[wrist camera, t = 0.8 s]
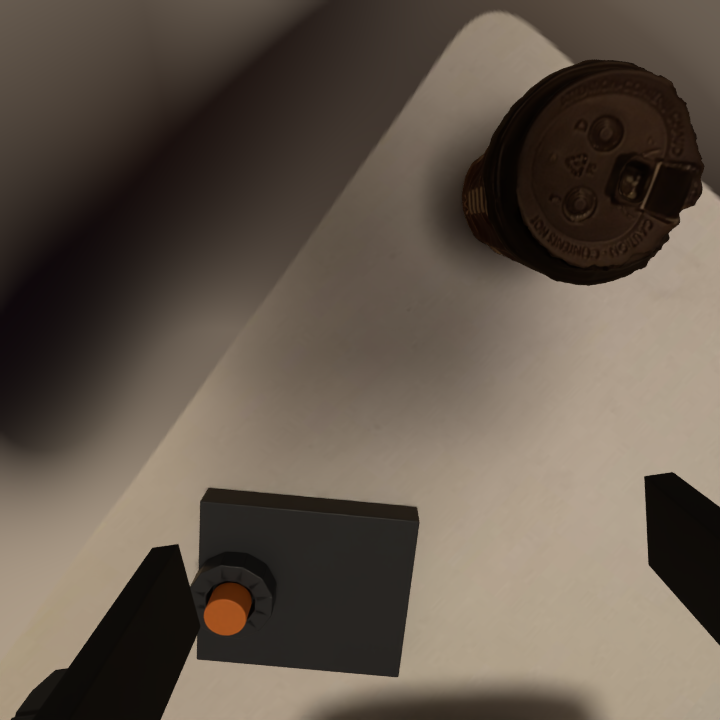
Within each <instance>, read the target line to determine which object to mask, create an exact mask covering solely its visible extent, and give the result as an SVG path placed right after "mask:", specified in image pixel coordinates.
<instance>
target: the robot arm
mask: <svg viewBox="0 0 720 720" xmlns="http://www.w3.org/2000/svg"><path fill="white" fill-rule="evenodd" d="M644 479H645V499H646V520H647V541H648V562H649V566H650V567H651V568H652V569H653V570H654V571H655V573H656V574H657V575H658V576H659V577H660V578H661V579H662V580H663V582H664V583H665V584H666V585H667V586H668V587H669V588H670V590H671V591H672V592H673V593H674V594H675V595H676V596H677V597H678V599H679V600H680V601H681V602H682V603H683V604H684V605H685V607H686V608H687V609H688V610H689V611H690V612H691V613H692V614H693V616H694V617H695V618H696V619H697V620H698V621H699V622H700V624H701V625H702V626H703V627H704V628H705V629H706V630H707V631H708V633H709V634H710V635H711V636H712V637H713V638H714V639H715V641H716V642H717V643H718V644H719V645H720V507H719V506H718V505H716V504H715V503H714V502H712V501H711V500H710V499H708V498H707V497H705V496H704V495H703V494H701V493H700V492H699V491H697V490H696V489H695V488H693V487H692V486H691V485H689V484H688V483H687V482H685V481H684V480H683V479H681V478H680V477H679V476H677V475H676V474H675V473H673V472H671V473H664V474H657V475H650V476H644ZM200 627H201V626H200V622H199V619H198V615H197V611H196V607H195V604H194V600H193V596H192V593H191V589H190V585H189V582H188V578H187V574H186V571H185V567H184V563H183V560H182V556H181V552H180V549H179V545H178V544H176V545H169V546H162V547H155V548H152V549H151V551H150V552H149V553H148V555H147V556H146V558H145V559H144V561H143V562H142V563H141V565H140V566H139V568H138V569H137V571H136V572H135V573H134V575H133V576H132V578H131V579H130V581H129V582H128V583H127V585H126V586H125V588H124V589H123V591H122V592H121V593H120V595H119V596H118V598H117V599H116V601H115V602H114V603H113V605H112V606H111V608H110V609H109V611H108V612H107V613H106V615H105V616H104V618H103V619H102V621H101V622H100V623H99V625H98V626H97V628H96V629H95V631H94V632H93V633H92V635H91V636H90V638H89V639H88V641H87V642H86V643H85V645H84V646H83V648H82V649H81V651H80V652H79V653H78V655H77V656H76V658H75V659H74V661H73V662H72V663H71V665H70V666H69V668H67V669H60V670H55V671H54V672H53V673H52V674H50V675H49V676H48V677H47V678H46V679H45V680H44V681H43V682H41V683H40V684H39V685H38V686H37V687H36V688H35V689H34V690H32V692H31V693H30V694H29V696H28V697H27V698H26V700H25V701H24V702H23V704H22V705H21V707H20V708H19V709H18V711H17V712H16V716H15V717H14V718H12V719H11V720H161V718H162V715H163V713H164V711H165V708H166V706H167V704H168V701H169V699H170V697H171V694H172V692H173V690H174V687H175V685H176V683H177V680H178V678H179V676H180V673H181V671H182V669H183V666H184V664H185V662H186V659H187V657H188V655H189V652H190V650H191V648H192V645H193V643H194V641H195V638H196V636H197V634H198V631H199V629H200Z"/></svg>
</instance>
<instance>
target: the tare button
mask: <svg viewBox="0 0 720 720" xmlns="http://www.w3.org/2000/svg"><path fill="white" fill-rule="evenodd" d="M251 604H252V599H251V595H250V593H249V592H248V590H247V589H246V588H245V587H243V586H242V585H240V584H237V583H233V582H228V583H223V584H221V585H219V586H217V587H216V588H215V589H214V591H213V592H212V595H211V597H210V599H209V601H208V604H207V606H206V608H205V611H204V621H205V623H206V625H207V626H208V628H209V629H210V630H212V631H213V632H215V633H217V634H220V635H233V634H236V633H238V632H239V631H240V630H242V628H243V627H244V626H245V624H246V620H247V617H248V614H249V611H250V608H251Z"/></svg>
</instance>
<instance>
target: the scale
mask: <svg viewBox="0 0 720 720" xmlns="http://www.w3.org/2000/svg"><path fill="white" fill-rule="evenodd" d="M418 529H419V516H418V511H417V508H416V507H406V506H395V505H384V504H373V503H363V502H352V501H341V500H330V499H319V498H309V497H298V496H287V495H276V494H266V493H255V492H244V491H233V490H222V489H212V488H209V489H208V490H207V492H206V493H205V495H204V496H203V498H202V500H201V501H200V539H199V571H198V573H197V574H196V576H195V578H194V580H193V582H192V584H191V586H190V589H191V593H192V596H193V600H194V604H195V607H196V611H197V615H198V619H199V622H200V626H201V627H200V629H199V631H198V634H197V659H199V660H210V661H221V662H232V663H244V664H255V665H266V666H277V667H288V668H299V669H311V670H322V671H333V672H344V673H355V674H366V675H377V676H389V677H398V676H399V668H400V661H401V654H402V646H403V639H404V632H405V624H406V617H407V610H408V602H409V595H410V588H411V580H412V573H413V566H414V558H415V551H416V544H417V536H418ZM228 582H233V583H237V584H240V585H242V586H243V587H245V588H246V589H247V590H248V592H249V593H250V595H251V599H252V604H251V608H250V611H249V614H248V617H247V620H246V624H245V626H244V627H243V628H242V630H240V631H239V632H238V633H236V634H233V635H220V634H217V633H215V632H213V631H212V630H210V629H209V628H208V626H207V625H206V623H205V621H204V611H205V608H206V606H207V604H208V601H209V599H210V597H211V595H212V592H213V591H214V589H215V588H216V587H217V586H219V585H221V584H223V583H228Z"/></svg>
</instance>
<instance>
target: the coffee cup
mask: <svg viewBox="0 0 720 720" xmlns="http://www.w3.org/2000/svg"><path fill="white" fill-rule="evenodd" d="M696 139H697V138H696V134H695V132H694V130H693V126H692V125H691V123H690V117H689V112H688V110H687V107H686V102H684V101H683V100H682V98H679V97H678V95H677V92H676V89H675V88H674V86H673V83H672V82H671V81H669V80H668V79H666V78H665V77H663V76H661V75H660V76H657V75H655V74H653V73H652V72H649V71H647V70H645V69H644V68H641V67H638V66H637V65H635V64H633V63H629V62H622V61H614V60H607V61H606V60H586V61H582V62H580V63H578V64H575V65H573V66H570V67H566V68H563V69H561V70H559V71H557V72H554V73H552V74H550V75H548V76H547V77H545V78H544V79H542V80H541V81H540V82H538V83H537V84H536V85H534V86H533V87H532V88H530V89H529V90H528V91H527V92H526V94H525V95H524V96H523V97H522V98H520V99H519V100H518V101H517V102H516V103H515V104H514V105H513V106H512V107H511V108H510V110H509V112H508V113H507V114H506V115H505V117H504V118H503V120H502V121H501V123H500V125H499V126H498V128H497V129H496V131H495V132H494V134H493V136H492V138H491V141H490V145H489V146H488V148H487V149H486V151H485V153H484V154H483V155H482V156H480V157H479V158H478V159H477V160H475V161H474V162H473V163H472V164H471V166H470V168H469V170H468V172H467V174H466V177H465V181H464V185H463V191H462V204H463V211H464V215H465V218H466V221H467V224H468V226H469V228H470V229H471V231H472V233H473V235H474V236H475V237H476V238H477V239H478V240H479V241H481V242H482V243H485V244H487V245H488V246H489V247H490V248H491V249H492V250H493V251H494V252H496V253H498V254H502V255H503V256H506V257H508V258H510V259H511V260H513V261H516V262H518V263H521V264H522V265H525V266H527V267H529V268H531V269H533V270H535V271H537V272H540V273H542V274H544V275H546V276H548V277H549V278H550V279H553V280H555V281H561V282H564V283H571V284H575V285H587V286H590V285H596V284H602V283H607V282H610V281H614V280H617V279H619V278H622V277H626V276H628V275H630V274H632V273H633V272H634V271H636V270H638V269H642V268H645V267H646V266H647V263H648V261H649V260H650V259H651V258H652V257H654V256H655V255H656V253H657V252H658V251H659V250H661V249H662V246H663V244H664V243H666V242H667V241H668V240H669V234H668V233H669V232H670V231H671V230H672V229H673V228H675V227H676V226H677V225H679V223H680V217H679V213H680V212H681V211H682V210H683V209H686V208H689V207H690V206H694V205H695V204H696V201H697V200H698V199H699V197H700V196H701V194H702V183H701V175H702V173H703V170H704V164H703V163H702V161H701V159H702V158H701V155H700V153H699V151H698V145H697V143H696Z"/></svg>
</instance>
